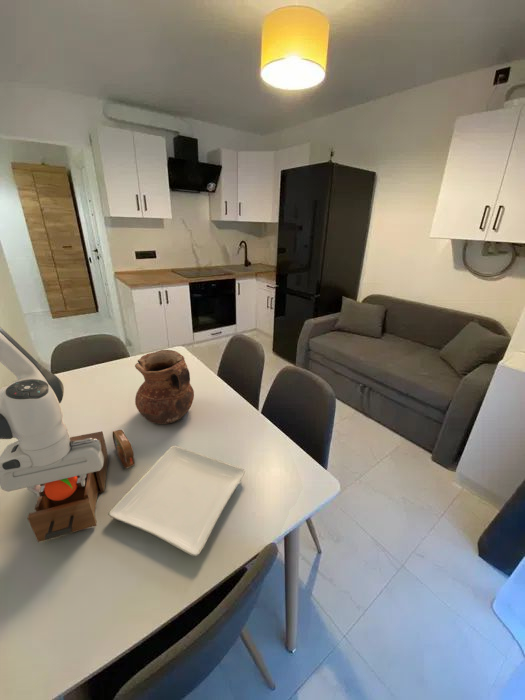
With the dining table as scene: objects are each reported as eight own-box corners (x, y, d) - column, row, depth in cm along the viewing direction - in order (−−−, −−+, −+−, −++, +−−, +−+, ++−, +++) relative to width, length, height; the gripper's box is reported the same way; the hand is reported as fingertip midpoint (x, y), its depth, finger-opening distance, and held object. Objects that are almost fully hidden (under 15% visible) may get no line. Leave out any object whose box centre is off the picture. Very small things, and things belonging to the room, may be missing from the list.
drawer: (94, 541, 70) (86, 517, 66) (32, 560, 66) (20, 535, 62) (101, 483, 85) (96, 461, 81) (52, 496, 81) (43, 473, 77)
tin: (113, 446, 100) (109, 427, 97) (123, 442, 102) (119, 423, 98) (127, 474, 90) (123, 453, 86) (138, 469, 92) (134, 448, 88)
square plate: (173, 452, 99) (172, 443, 97) (246, 478, 90) (246, 469, 88) (108, 522, 76) (105, 512, 74) (198, 566, 67) (197, 555, 65)
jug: (129, 430, 108) (118, 371, 97) (148, 398, 127) (140, 346, 117) (189, 431, 109) (185, 372, 98) (199, 399, 128) (195, 347, 118)
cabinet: (104, 492, 84) (96, 464, 79) (48, 506, 79) (37, 478, 75) (108, 456, 96) (102, 431, 92) (60, 467, 91) (51, 440, 87)
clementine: (90, 491, 74) (83, 470, 71) (63, 513, 68) (55, 492, 65) (69, 479, 77) (62, 459, 74) (42, 500, 71) (33, 479, 68)
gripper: (100, 428, 72) (110, 469, 78) (-2, 447, 65) (17, 490, 71) (97, 445, 67) (108, 487, 73) (-15, 468, 60) (7, 513, 66)
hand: (62, 489), depth 72 cm, fingers closed on clementine, 7 cm apart
